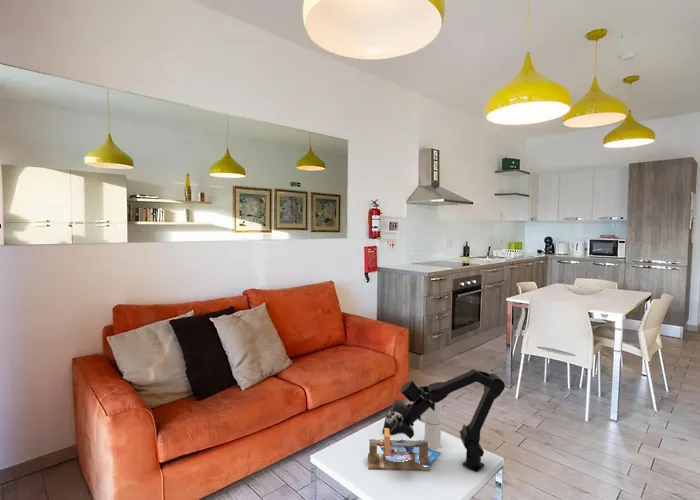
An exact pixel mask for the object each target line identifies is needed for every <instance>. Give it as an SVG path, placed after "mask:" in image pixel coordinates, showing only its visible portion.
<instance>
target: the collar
mask: <svg viewBox="0 0 700 500" xmlns="http://www.w3.org/2000/svg"><path fill="white" fill-rule="evenodd" d="M383 436H384V437H383V440H385V446H383V448H384V449H383V450H384V454H385V456H390V454H391V446H390V440H391V435H390V432H389V428H384V434H383Z"/></svg>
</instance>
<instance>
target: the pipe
mask: <svg viewBox="0 0 700 500" xmlns="http://www.w3.org/2000/svg"><path fill="white" fill-rule="evenodd" d="M370 444H377V447H378V446H379V447H384V446H385V440H384V438H383V439H377V440H370ZM420 445H427V446H428V442H427V441H425V440H405V439H404V440H399V439H397V440H396V439H390V447H409V448H410V447H411V448H412V447H417V448H419V447H420Z"/></svg>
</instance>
